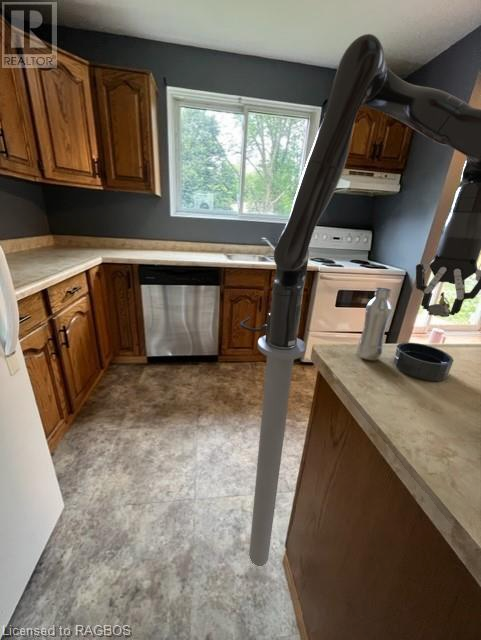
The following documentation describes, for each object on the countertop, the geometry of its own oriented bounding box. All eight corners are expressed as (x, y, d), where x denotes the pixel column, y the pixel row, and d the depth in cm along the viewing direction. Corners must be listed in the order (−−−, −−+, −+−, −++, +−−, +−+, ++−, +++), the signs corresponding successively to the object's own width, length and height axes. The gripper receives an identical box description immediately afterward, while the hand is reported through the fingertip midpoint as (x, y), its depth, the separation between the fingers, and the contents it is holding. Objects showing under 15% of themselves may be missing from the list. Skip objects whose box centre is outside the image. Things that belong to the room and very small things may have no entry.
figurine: (420, 313, 66) (427, 289, 64) (436, 313, 67) (444, 289, 65) (438, 320, 61) (446, 295, 59) (455, 320, 62) (464, 295, 60)
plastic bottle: (368, 351, 81) (384, 286, 74) (385, 362, 75) (404, 292, 68) (350, 353, 79) (364, 286, 72) (365, 364, 73) (382, 292, 66)
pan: (386, 368, 72) (390, 351, 70) (400, 354, 80) (404, 338, 79) (442, 388, 64) (448, 370, 62) (451, 370, 72) (457, 353, 71)
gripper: (508, 238, 56) (479, 316, 61) (428, 233, 65) (409, 301, 71) (506, 238, 51) (474, 323, 56) (419, 233, 60) (400, 306, 66)
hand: (438, 311), depth 64 cm, fingers closed on figurine, 4 cm apart
